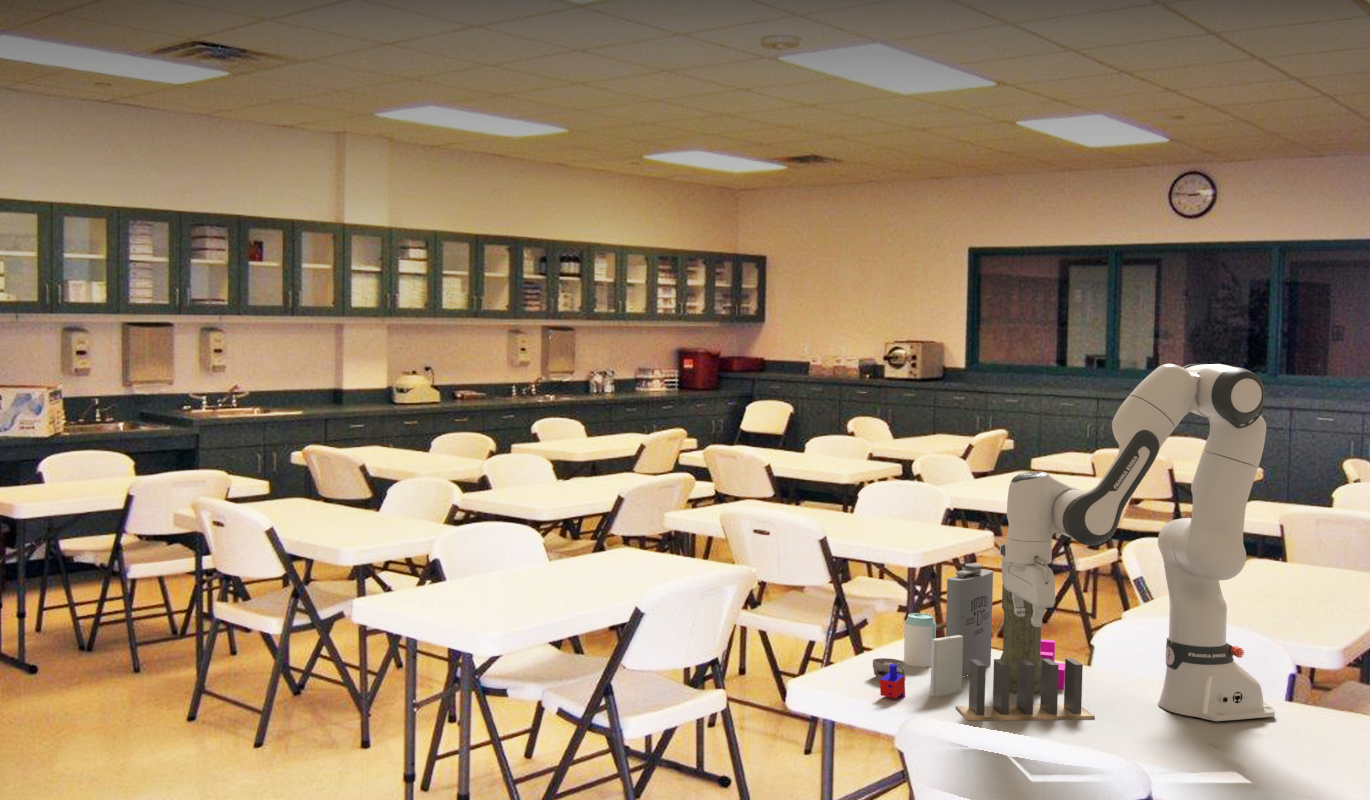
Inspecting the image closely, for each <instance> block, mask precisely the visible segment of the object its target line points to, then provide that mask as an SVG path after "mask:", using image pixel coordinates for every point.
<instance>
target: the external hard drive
mask: <svg viewBox="0 0 1370 800" xmlns="http://www.w3.org/2000/svg"><path fill="white" fill-rule="evenodd" d="M962 663H963V636H961V635H956V636H949V637H946V636H944V637H938V638H937V637H936V639H932V654H931V666H930V685H929V686H930V691H929V695H930V696H931V697H933V698H936V697H938V698H939V697H942V696H949V695H953V694H958V693H959V692H960V693H962V690H963V688H962V687H963V686H962V685H963V677H962Z"/></svg>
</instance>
